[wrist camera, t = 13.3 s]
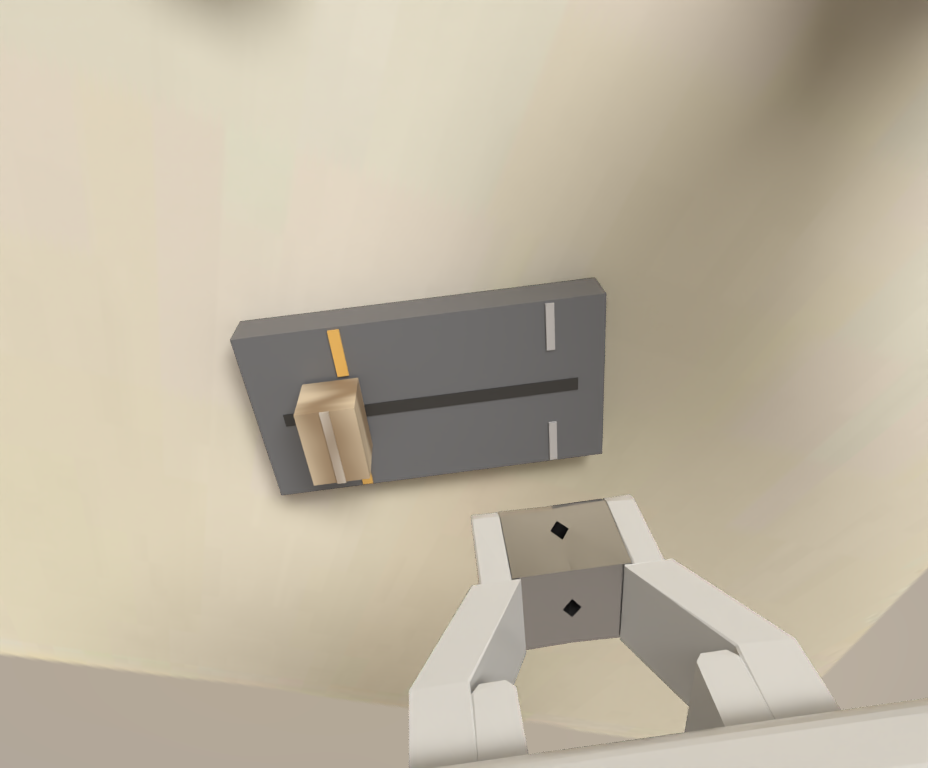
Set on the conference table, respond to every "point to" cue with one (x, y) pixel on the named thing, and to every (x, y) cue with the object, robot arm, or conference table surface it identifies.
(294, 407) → the fader console
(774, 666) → the robot arm
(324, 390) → the fader tab
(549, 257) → the conference table surface
